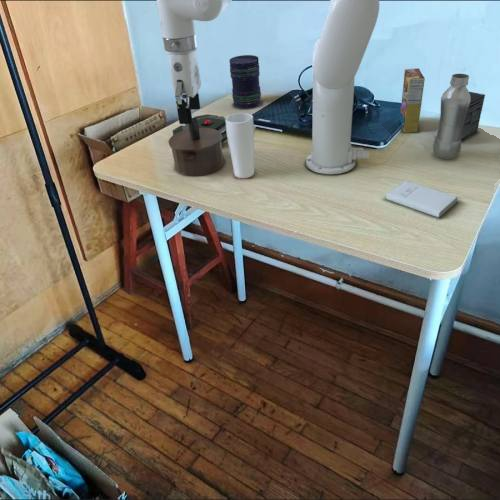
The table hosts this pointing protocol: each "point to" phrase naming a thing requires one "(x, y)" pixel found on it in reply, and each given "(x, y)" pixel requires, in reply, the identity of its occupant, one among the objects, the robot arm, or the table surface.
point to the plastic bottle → (452, 117)
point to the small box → (472, 115)
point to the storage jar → (245, 81)
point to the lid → (195, 138)
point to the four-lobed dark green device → (208, 125)
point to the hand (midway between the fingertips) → (190, 116)
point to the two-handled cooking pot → (198, 161)
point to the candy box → (412, 99)
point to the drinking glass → (241, 143)
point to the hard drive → (422, 198)
